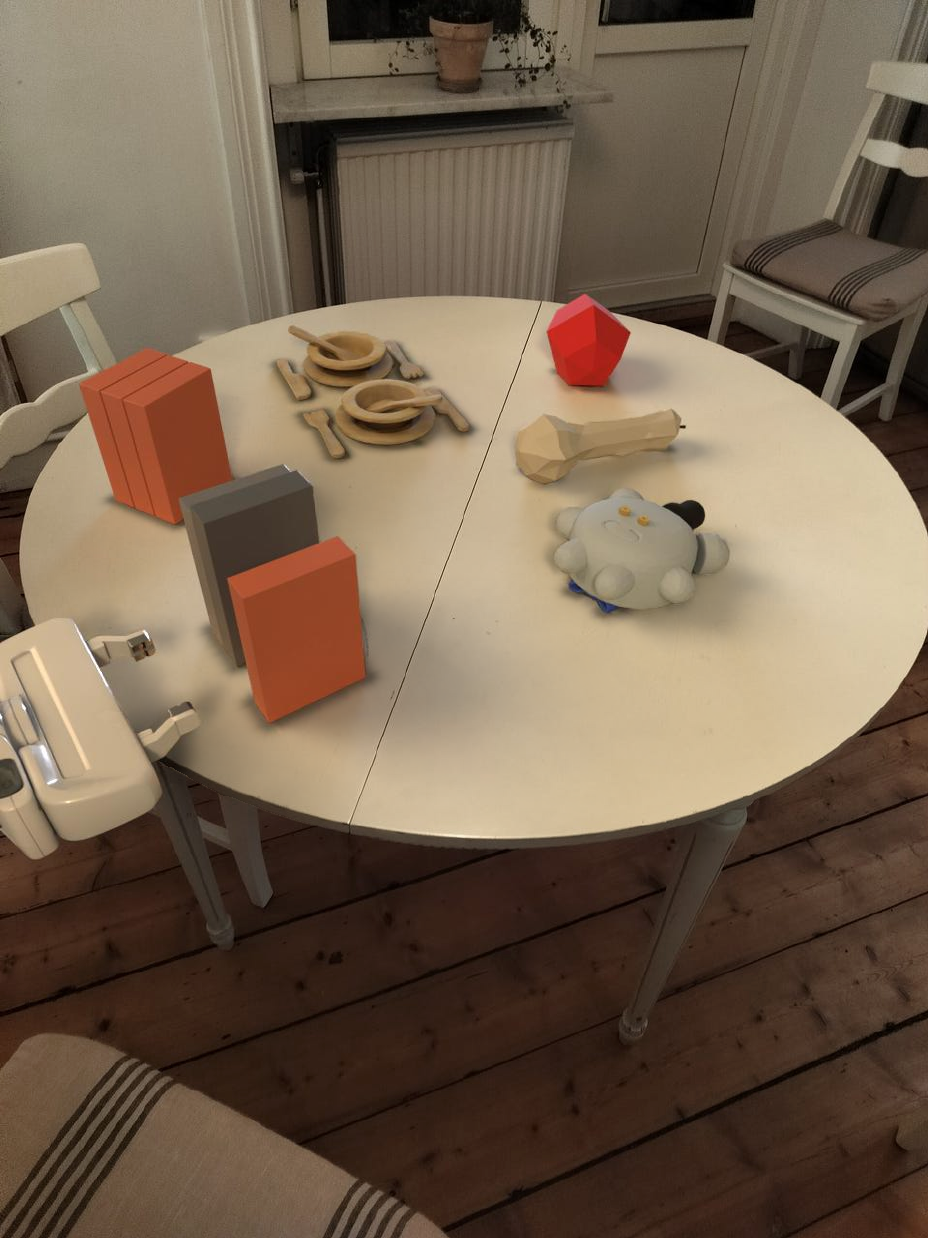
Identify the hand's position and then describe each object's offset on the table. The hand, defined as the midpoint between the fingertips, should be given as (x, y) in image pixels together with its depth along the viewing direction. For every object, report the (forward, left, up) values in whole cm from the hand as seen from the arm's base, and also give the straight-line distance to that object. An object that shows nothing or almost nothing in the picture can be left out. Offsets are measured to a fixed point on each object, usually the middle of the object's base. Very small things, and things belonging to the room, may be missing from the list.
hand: (172, 675), depth 67 cm
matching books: (+27, +28, -8) cm, 40 cm away
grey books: (+15, +3, -9) cm, 17 cm away
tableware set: (+59, +22, -9) cm, 63 cm away
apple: (+81, -2, -8) cm, 81 cm away
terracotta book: (+10, -5, -8) cm, 14 cm away
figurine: (+42, -25, -9) cm, 50 cm away
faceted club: (+60, -14, -9) cm, 62 cm away
